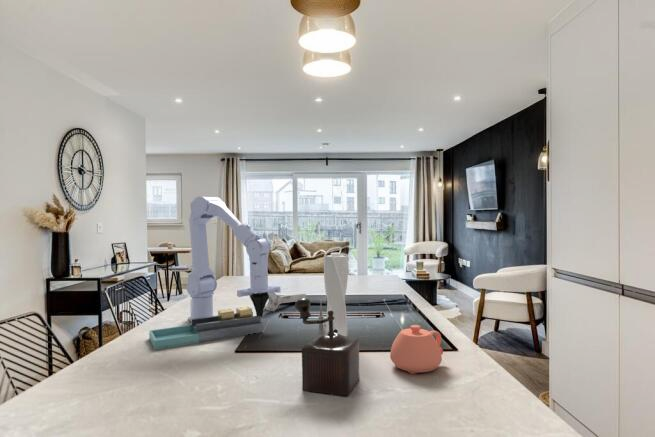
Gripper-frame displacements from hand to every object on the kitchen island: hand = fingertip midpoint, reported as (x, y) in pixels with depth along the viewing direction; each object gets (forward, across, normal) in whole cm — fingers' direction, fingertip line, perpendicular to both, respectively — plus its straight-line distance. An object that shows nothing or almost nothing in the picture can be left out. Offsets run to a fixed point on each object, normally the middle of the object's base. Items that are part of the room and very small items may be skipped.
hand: (259, 316), depth 139 cm
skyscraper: (+4, +14, -26) cm, 30 cm away
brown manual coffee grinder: (+4, -4, -50) cm, 50 cm away
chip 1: (+1, -11, 0) cm, 11 cm away
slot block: (+4, -11, 0) cm, 12 cm away
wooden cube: (+1, -5, 0) cm, 5 cm away
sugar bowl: (+4, +21, -54) cm, 58 cm away
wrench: (+4, +21, +24) cm, 32 cm away
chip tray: (+4, -27, 0) cm, 27 cm away
